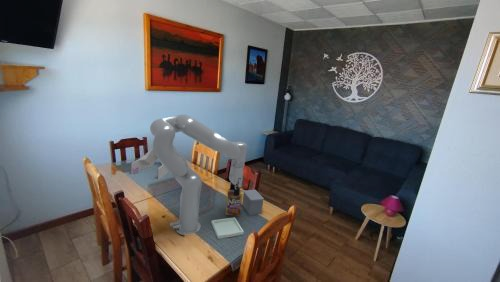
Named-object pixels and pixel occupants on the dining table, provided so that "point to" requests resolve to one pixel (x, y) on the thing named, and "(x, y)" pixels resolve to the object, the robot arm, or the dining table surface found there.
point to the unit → (252, 202)
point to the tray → (227, 228)
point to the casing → (148, 164)
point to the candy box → (233, 203)
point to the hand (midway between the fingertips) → (234, 192)
